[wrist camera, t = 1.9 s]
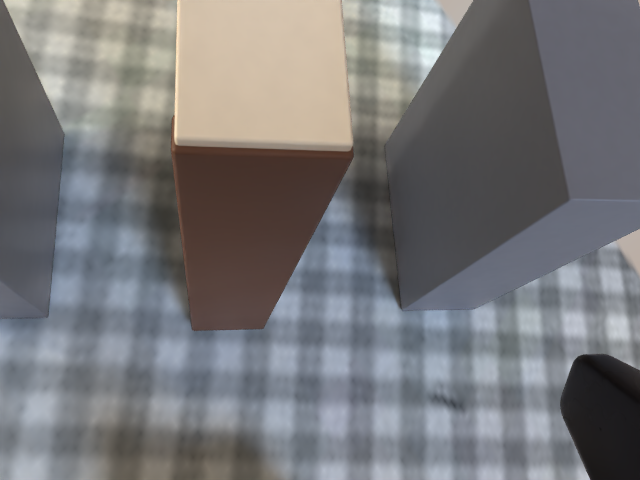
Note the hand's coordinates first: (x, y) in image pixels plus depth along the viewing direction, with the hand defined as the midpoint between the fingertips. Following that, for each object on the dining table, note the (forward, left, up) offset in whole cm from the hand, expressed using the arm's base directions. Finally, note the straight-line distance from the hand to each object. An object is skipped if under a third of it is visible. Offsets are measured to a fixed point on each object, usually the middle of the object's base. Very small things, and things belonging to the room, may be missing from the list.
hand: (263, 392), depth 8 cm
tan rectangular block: (+6, -3, -13) cm, 15 cm away
